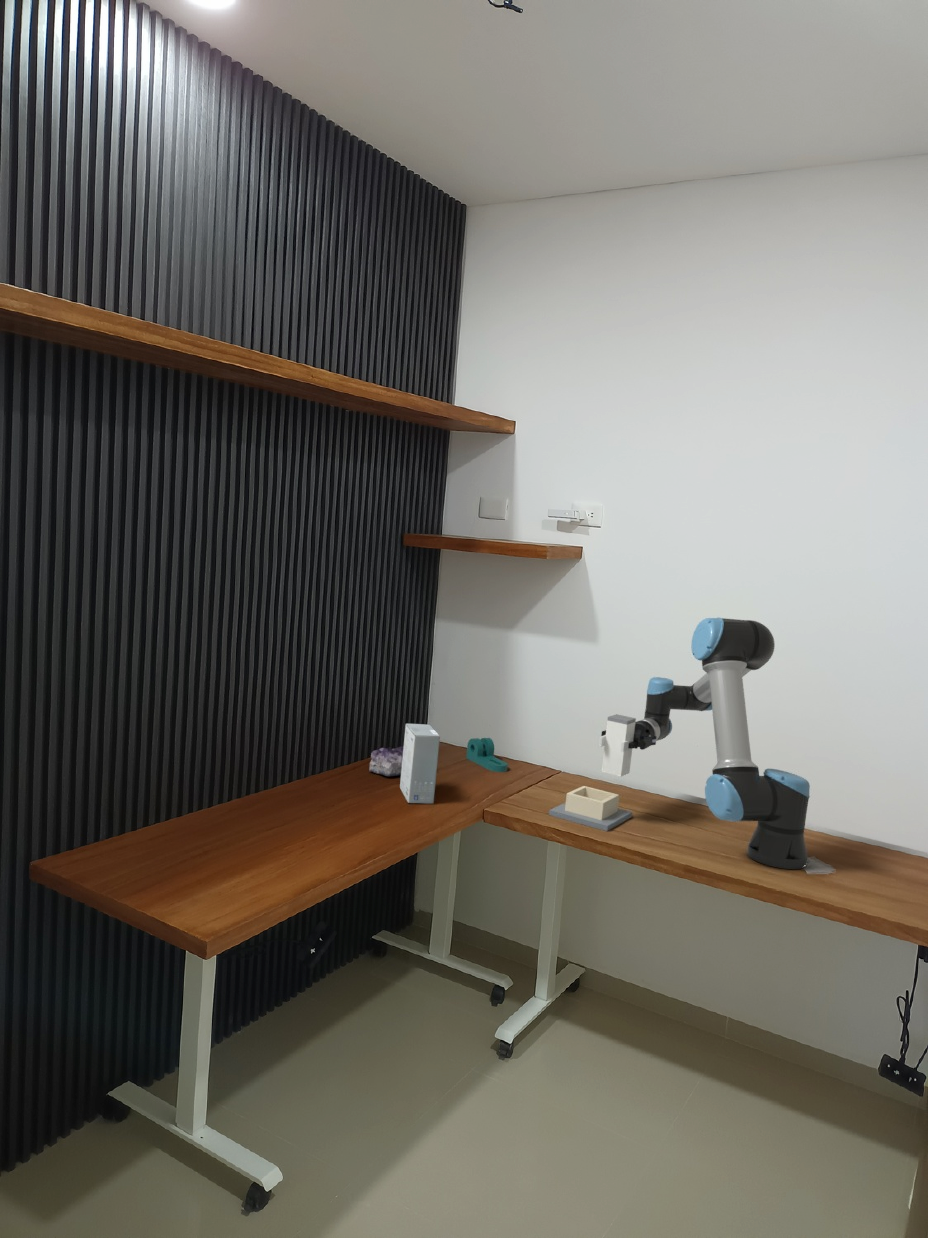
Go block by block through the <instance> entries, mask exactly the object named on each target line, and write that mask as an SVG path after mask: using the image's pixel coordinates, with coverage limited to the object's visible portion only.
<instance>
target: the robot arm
mask: <svg viewBox="0 0 928 1238" xmlns="http://www.w3.org/2000/svg"><path fill="white" fill-rule="evenodd" d="M774 652H775V639H774V635H773V633H772V632H771V631H770V629H769V627H767V626H766V625H764V624H762V623H761V622H759V621H756V620H750V619H746V620H745V619H734V618H723V617H708V618H703V619H702V620H701V621H700V622H698V624H697V625H696V627H695V630H694V631H693V634H692V638H691V653H692V656H693V657H694V659H696V660H698V661H701V666H702V670H703V671H704V672H705V674H704V675H702V676H701V677H700V678H699V679H698V680H697V681H696V682H694V683H693V684H692V685H679V684H678V685H675V684H674V680H673V679H670V678H666V677H659V676H658V677H657V676H654V677H651V678H649V680H648V685H647V689H646V701H645V702H646V703H645V711H644V718H643V719H640V720H637V721H636V722H635V730H634V738H633V739H629V740H626V741H623V742H622V744H621V752H624V751H627V750H630V749H632V750H633V749H636V750H637V749H638V748H639V749H640V750H641V751H642V750H643V751H644V750H646V749H648V748H649V747H652V746H656V744H657V741H661V740H663V739H665V738H666V737H668V736H669V735H670V734H671V733H672V730H673V723H672V721H671V719H670V715H671V710H679V711H680V710H681V711H697V712H698V711H699V712H705V711H711V712H712V719H713V730H714V740H715V751H716V752H715V753H716V760H717V762H716V764H715V766H713V768H711V769H712V771H711V772H712V774H711V775H710V776H708V777H707V779H706V782H705V784H706V785H705V786H704V796H705V800H706V804H707V806H708V807H707V808H709V810H710V812H711V813H712V814H713V815H714V816H715V818H716V819H717V818H718V820H721V821H729V822H733V823H734V822H735V823H736V822H757V825H756V827H755V830H754V832H753V834H752V836H751V838H750V839H749V841H748V844H747V846H746V847H747V848H746V855H747V856H748V857H749V858H750V859H752V860H754V861H755V862H758V863H760V864H762V865H765V866H768V867H773V868H779V869H784V870H800V869H803V868H802V867H803V866H804V865H806V863H807V864H808V851H807V847H806V845H807V844H806V841H805V837H804V836H805V835H804V834H805V827H806V819H807V813H808V812H807V811H808V805H809V799H810V797H811V796H810V790H811V789H810V787H811V786H810V782H809V781H808V780H807V779H806V778H804V777H802V776H800V775H798V774H795V773H793V772H788V771H786V770H785V771H784V770H780V769H775V768H766V769H764V771H763V775H760V769H759V766H758V765H756V763H754V761H753V760H752V754H751V745H750V736H749V735H750V734H749V726H748V725H749V724H748V719H747V718H748V716H747V708H746V699H745V698H746V697H745V689H744V680H743V678H744V676H746V675H747V674H748V673H750V672H751V671H756V670H759V669H761V668H763V667H764V666H765V665H766V664H767V663H768V662H769V661H770V660H771V658H772V657H773V654H774ZM605 737H606V729H605V730H602V731H601V735H600V736H599V738H598V739H599V741H598V747H604V746H605Z"/></svg>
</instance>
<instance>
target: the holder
mask: <svg viewBox="0 0 928 1238" xmlns="http://www.w3.org/2000/svg"><path fill="white" fill-rule="evenodd" d="M565 796H566V798H565V802H563V803H561V804H559V805H557V806H555V807H553V808H551V809H549V812H548V816H551V817H555V818H557V819H562V820H565V821H569V822H573V823H575V824H578V825H579V824H580V825H583V826H587V827H590V828H594V829H598V830H600V831H601V830H602V831H605V832H608V831H610V830H612V829H614V828H615V827H617V826H619V825H620V824H622V823H624V822H627V820H629V819H630V818H632V817H633V811H630V810H627V809H623V808H620V807H619V802H620V801H619V800H620V794H619V793H618V794H617V793H613V792H610V791H606V790H602V789H598V788H595V787H589V786H585V785H583V786H580V787H578V788H575V789H573V790H571V791H569V792H567V793H566V795H565Z"/></svg>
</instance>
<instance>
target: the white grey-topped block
mask: <svg viewBox="0 0 928 1238" xmlns="http://www.w3.org/2000/svg"><path fill="white" fill-rule="evenodd" d="M636 720H637V718H636V717H631V716H626V715H621V714H613V715H610V716H607V722H606V729H605V730H606V737H605V746H603V756H602V763H601V764H602V765H601V773H603V774H604V773H605V774H609V775H612V776H616V777H620V778H622V777H624V776H626V775H628V774H630V771H631V763H632V753H633V752H632V751H633V749H630V750H627V751H624V752H621V744H622V742H623V741H626V740H629V739H633V738H634V730H635V722H637V721H636Z"/></svg>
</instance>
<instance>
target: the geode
mask: <svg viewBox="0 0 928 1238" xmlns="http://www.w3.org/2000/svg"><path fill="white" fill-rule="evenodd" d="M403 748H404V745H403V746H399V747H396V748H391V747H387V748H385V747H381V748H379V749H376V750H373V751H372V752H371V753H370V754H371V755H370V758H371V760H370V762H369V769H368V770H369V773H374V774H378V775H381V776H384V777H394V776H395V777H396V776H401V770H402V759H403Z"/></svg>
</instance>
